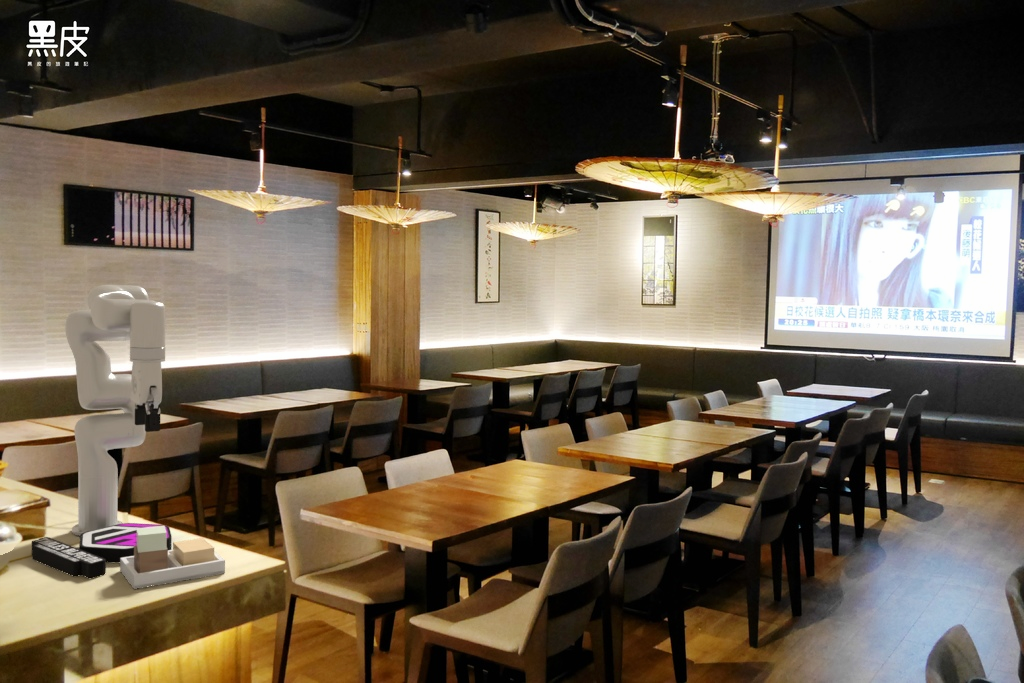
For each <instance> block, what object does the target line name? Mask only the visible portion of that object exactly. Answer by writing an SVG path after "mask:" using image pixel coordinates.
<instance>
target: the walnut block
mask: <svg viewBox="0 0 1024 683" xmlns="http://www.w3.org/2000/svg"><path fill="white" fill-rule="evenodd" d="M134 569H135V570H136V572H137V573H144V572H150V571H156V570H162V569H168V548H167V550H159V551H149V552H140V553H138V550H137V545H134Z"/></svg>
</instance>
